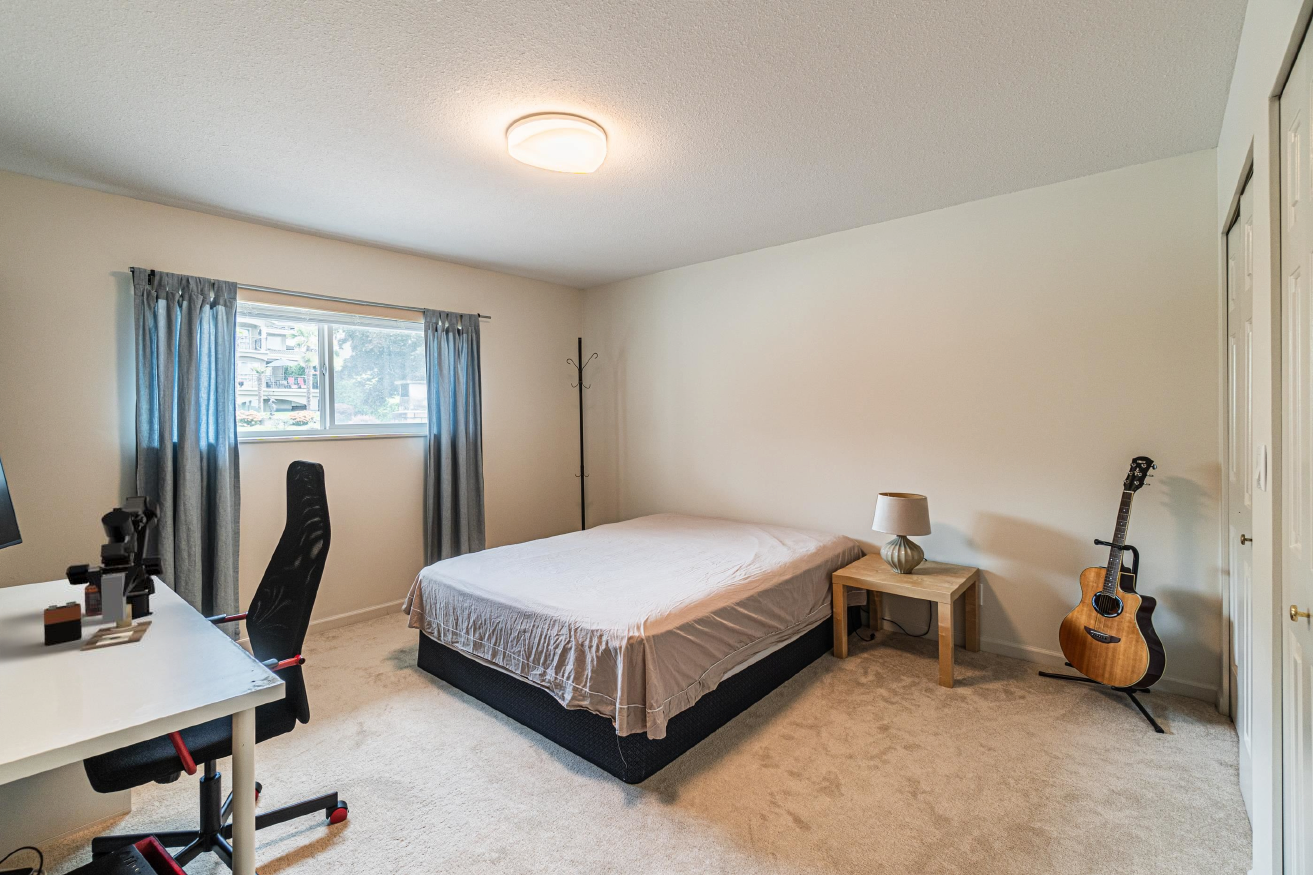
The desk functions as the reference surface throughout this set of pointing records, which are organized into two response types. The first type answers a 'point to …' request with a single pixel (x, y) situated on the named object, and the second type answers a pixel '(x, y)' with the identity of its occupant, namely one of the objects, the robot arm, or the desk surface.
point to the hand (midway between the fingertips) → (112, 597)
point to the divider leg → (113, 598)
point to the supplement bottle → (92, 601)
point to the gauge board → (118, 633)
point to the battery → (62, 623)
